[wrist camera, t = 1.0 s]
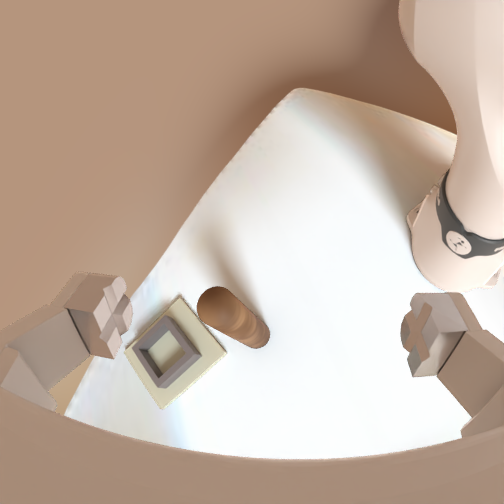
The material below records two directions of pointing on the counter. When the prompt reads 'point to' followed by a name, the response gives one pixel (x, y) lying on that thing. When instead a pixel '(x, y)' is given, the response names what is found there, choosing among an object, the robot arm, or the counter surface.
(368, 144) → the counter surface
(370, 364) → the counter surface
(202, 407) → the counter surface
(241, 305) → the walnut dowel
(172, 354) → the dowel holder
